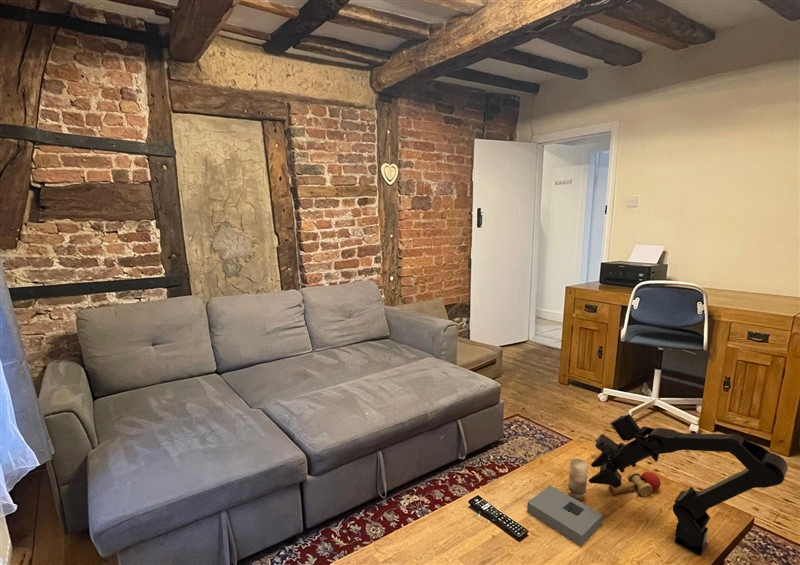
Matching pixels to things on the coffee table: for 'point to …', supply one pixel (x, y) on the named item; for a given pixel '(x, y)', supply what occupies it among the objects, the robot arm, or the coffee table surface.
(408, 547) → the coffee table surface
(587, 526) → the board
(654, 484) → the kendama
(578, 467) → the peg
